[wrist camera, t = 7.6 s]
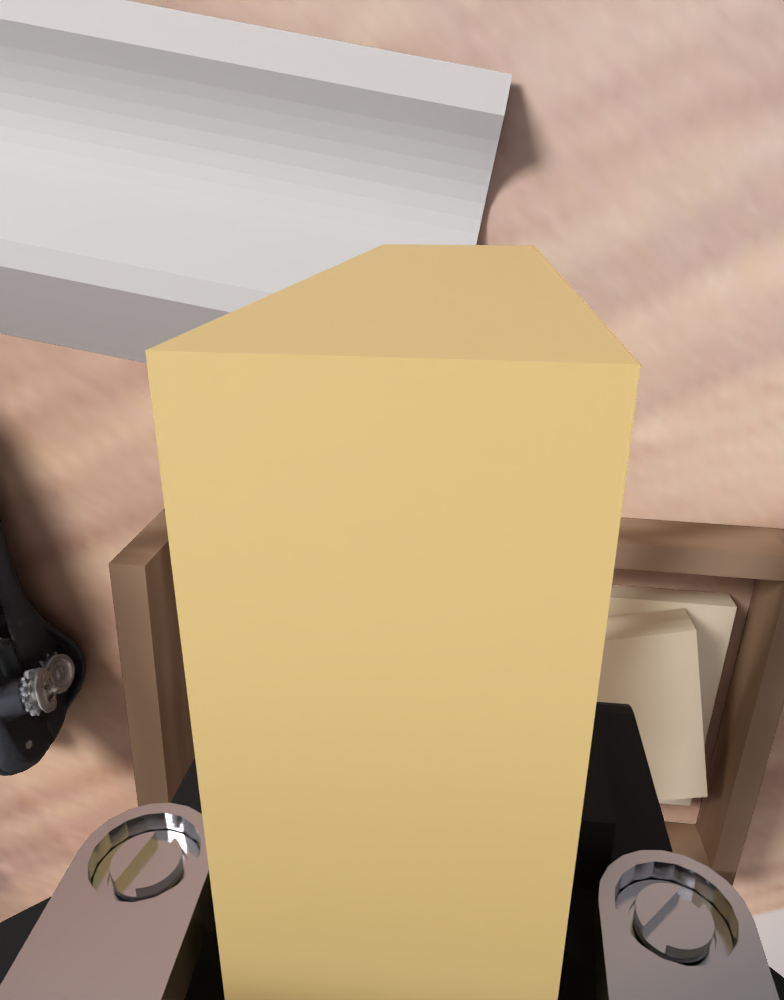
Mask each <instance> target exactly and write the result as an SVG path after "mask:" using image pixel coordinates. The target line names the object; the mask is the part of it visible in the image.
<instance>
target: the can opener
mask: <svg viewBox="0 0 784 1000" xmlns="http://www.w3.org/2000/svg"><path fill="white" fill-rule="evenodd" d="M85 675H86V661H85V657H84V655H83V653H82V651H81V649H80V648H79V646H78V645H77V644H76V643H75V642H74V641H73V640H71V639H70V638H69V637H68V636H66V635H65V634H64V633H62V632H61V631H59V630H58V629H56V628H55V627H53V626H52V625H51V624H49V623H48V622H47V621H46V620H44V619H43V618H42V617H41V616H40V614H39V613H38V612H37V611H36V610H35V608H34V607H33V606H32V604H31V603H30V601H29V600H28V598H27V597H26V595H25V593H24V592H23V589H22V587H21V586H20V583H19V581H18V578H17V576H16V573H15V570H14V567H13V564H12V560H11V557H10V554H9V550H8V546H7V543H6V539H5V535H4V532H3V529H2V525H1V521H0V775H3V776H7V775H14V774H17V773H20V772H23V771H25V770H27V769H29V768H31V767H32V766H34V765H35V764H37V763H38V762H39V761H40V760H41V758H42V757H43V756H44V755H45V753H46V751H47V750H48V749H49V747H50V745H51V744H52V743H53V742H54V740H55V738H56V737H57V735H58V733H59V731H60V729H61V727H62V724H63V721H64V718H65V715H66V711H67V709H68V707H69V706H70V704H71V703H72V701H73V700H74V698H75V697H76V696H77V694H78V693H79V691H80V689H81V687H82V684H83V682H84V679H85Z"/></svg>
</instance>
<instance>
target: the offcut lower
mask: <svg viewBox="0 0 784 1000" xmlns="http://www.w3.org/2000/svg"><path fill="white" fill-rule="evenodd" d="M681 608H685V609H686V611H687V613H688V615H689V617H690V619H691V621H692V623H693V625H694V627H695V629H696V633H697V648H698V662H699V677H700V692H701V707H702V721H703V736H704V745H705V741H706V737H707V732H708V728H709V724H710V720H711V715H712V711H713V707H714V703H715V698H716V694H717V690H718V686H719V681H720V677H721V673H722V669H723V664H724V660H725V656H726V652H727V648H728V643H729V639H730V635H731V631H732V626H733V622H734V618H735V614H736V609H737V606H736V605H735V603H734V602H733V600H732V599H731V597H730V595H729V594H728V593H715V592H702V591H689V590H676V589H662V588H649V587H636V586H623V585H612V588H611V596H610V603H609V611H608V617H616V616H624V615H632V614H641V613H649V612H657V611H665V610H673V609H681ZM691 800H692V798H687V799H675V800H663V801H659V803H664V804H674V805H684V806H690V804H691Z"/></svg>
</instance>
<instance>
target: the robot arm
mask: <svg viewBox="0 0 784 1000" xmlns="http://www.w3.org/2000/svg"><path fill="white" fill-rule="evenodd" d="M0 1000H225V997H224V989H223V981H222V972H221V964H220V956H219V948H218V940H217V932H216V923H215V915H214V907H213V899H212V891H211V883H210V875H209V866H208V858H207V850H206V842H205V834H204V826H203V817H202V809H201V801H200V793H199V785H198V777H197V769H196V760H195V758H194V759H193V761H192V763H191V765H190V767H189V769H188V771H187V773H186V775H185V777H184V778H183V780H182V782H181V784H180V786H179V788H178V790H177V792H176V794H175V795H174V797H173V799H172V801H171V803H156V804H147V805H144V806H140V807H136V808H133V809H129V810H127V811H125V812H123V813H121V814H119V815H117V816H115V817H113V818H111V819H109V820H108V821H107V822H105V823H104V824H103V825H102V826H100V827H99V828H98V829H97V830H95V831H94V832H93V833H92V834H91V835H90V836H89V837H88V839H87V840H86V841H85V843H84V844H83V845H82V846H81V848H80V849H79V850H78V852H77V854H76V855H75V857H74V859H73V861H72V862H71V864H70V866H69V868H68V869H67V871H66V873H65V874H64V876H63V878H62V880H61V881H60V883H59V885H58V887H57V888H56V890H55V892H54V893H53V895H52V897H50V898H48V899H46V900H44V901H42V902H40V903H38V904H36V905H34V906H32V907H30V908H28V909H26V910H24V911H22V912H20V913H18V914H16V915H14V916H12V917H10V918H8V919H7V920H5V921H3V922H1V923H0ZM558 1000H784V978H783V977H782V976H781V975H780V974H778V973H777V972H775V971H774V970H773V969H772V968H770V967H769V966H768V962H767V959H766V956H765V953H764V950H763V947H762V943H761V940H760V937H759V934H758V931H757V928H756V925H755V922H754V919H753V917H752V915H751V913H750V911H749V909H748V907H747V905H746V903H745V901H744V900H743V899H742V897H741V896H740V895H739V894H738V893H737V892H736V890H735V889H734V888H733V887H732V886H731V885H730V884H729V882H728V881H726V880H725V879H724V878H722V877H721V876H720V875H718V874H717V873H716V872H714V871H713V870H712V869H710V868H709V867H708V866H706V865H704V864H701V863H699V862H697V861H695V860H693V859H691V858H689V857H687V856H684V855H680V854H676V853H673V851H672V847H671V844H670V840H669V836H668V833H667V829H666V826H665V822H664V818H663V815H662V811H661V808H660V804H659V801H658V797H657V793H656V790H655V786H654V783H653V779H652V776H651V772H650V768H649V765H648V761H647V758H646V754H645V750H644V747H643V743H642V740H641V736H640V733H639V729H638V725H637V722H636V718H635V715H634V712H633V709H632V707H631V706H630V705H629V704H621V703H608V702H597V703H596V710H595V718H594V726H593V733H592V741H591V748H590V756H589V764H588V771H587V779H586V787H585V794H584V802H583V809H582V817H581V825H580V832H579V840H578V848H577V855H576V863H575V871H574V878H573V886H572V893H571V901H570V909H569V916H568V924H567V932H566V939H565V947H564V955H563V962H562V970H561V977H560V985H559V993H558Z"/></svg>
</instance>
